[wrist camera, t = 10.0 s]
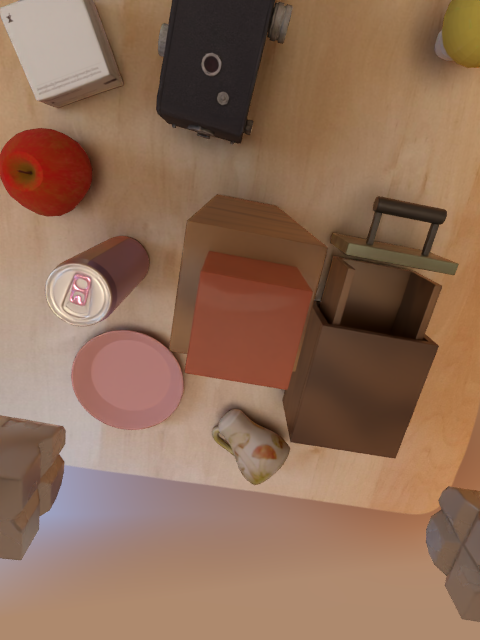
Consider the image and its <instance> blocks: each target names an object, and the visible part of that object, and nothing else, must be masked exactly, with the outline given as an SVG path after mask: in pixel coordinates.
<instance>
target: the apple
mask: <svg viewBox="0 0 480 640" xmlns="http://www.w3.org/2000/svg"><path fill="white" fill-rule="evenodd" d="M0 177H1V180H2V182H3V184H4V186H5V188H6V190H7V192H8V193H9V194H10V196H11V197H13V198H14V199H15V200H16V201H18V202H19V203H20V204H21V205H22V206H24V207H26V208H27V209H29V210H31V211H33V212H35V213H37V214H40V215H44V216H61V215H63V214H65V213H68V212H70V211H71V210H73V209H74V208H75V207H76V206H77V205H78V203H79V202H80V201H81V200H82V199H83V198H84V196H85V195H86V193H87V192H88V190H89V189H90V185H91V182H92V167H91V163H90V160H89V158H88V156H87V154H86V152H85V151H84V150H83V148H82V147H81V146H80V145H79V144H78V142H76V141H75V140H73V139H72V138H70V137H68V136H67V135H65V134H63V133H61V132H58V131H55V130H52V129H43V128H38V129H32V130H26V131H23V132H21V133H18V134H16V135H15V136H14V137H13V138H11V139H10V140H9V141H8V142H7V143H6V144H5V146H4V147H3V149H2V151H1V154H0Z"/></svg>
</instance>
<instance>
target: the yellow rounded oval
mask: <svg viewBox="0 0 480 640" xmlns="http://www.w3.org/2000/svg"><path fill="white" fill-rule="evenodd" d="M435 52H436V54H437V56H438V57H439V58H442V59H444V60H446V61H452V60H454V61H455V62H456V63H457V64H459V65H462V66H465V67H467V68H479V67H480V0H452V1H451V2H450V4H449V6H448V9H447V11H446V14H445V16H444V20H443V28H442V30H441V31H440V32H439V34H438V36H437V39H436V43H435Z"/></svg>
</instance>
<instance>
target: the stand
mask: <svg viewBox="0 0 480 640" xmlns="http://www.w3.org/2000/svg"><path fill="white" fill-rule="evenodd" d="M327 249H328V247H327V246H326V245H324V244H323V243H322V242H321V241H319V240H318V239H317V238H316V237H314V236H313V235H312V234H311V233H309V232H308V231H307V230H306V229H305V228H303V227H302V226H301V225H300V224H298V223H297V222H296V221H295V220H293V219H292V218H291V217H290V216H288V215H287V214H286V213H285V212H284V211H282V210H281V209H280V208H279V207H277V206H275V205H270V204H264V203H259V202H254V201H249V200H244V199H239V198H234V197H229V196H224V195H218V194H217V195H216V196H215V197H213V198H212V199H211V200H210V201H209V202H208V203H207V204H206V205H204V206H203V207H202V208H201V209H200V210H199V211H198V212H196V213H195V214H194V215H193V216H192V217H191V218H190V219H189V220H187V225H186V232H185V239H184V246H183V253H182V260H181V267H180V275H179V282H178V289H177V296H176V303H175V310H174V317H173V324H172V332H171V339H170V346H169V351H173V352H179V353H185V354H187V353H188V347H189V341H190V334H191V328H192V322H193V315H194V309H195V303H196V296H197V290H198V284H199V277H200V272H201V269H202V267H203V264H204V261H205V259H206V256H207V254H208V252H209V251H213V252H218V253H224V254H229V255H235V256H240V257H245V258H251V259H256V260H261V261H267V262H272V263H277V264H283V265H288V266H294V267H297V268H298V269H299V271H300V272H301V274H302V276H303V277H304V279H305V280H306V282H307V283H308V285H309V287H310V288H311V290H312V291H313V294H312V297H311V301H310V305H309V309H308V313H307V317H306V321H305V325H304V328H303V332H302V336H301V340H300V344H299V348H298V352H297V356H296V359H295V363H294V367H293V371H292V372H295V371H296V367H297V364H298V360H299V356H300V352H301V348H302V345H303V341H304V337H305V333H306V329H307V325H308V322H309V318H310V314H311V310H312V306H313V302H314V299H315V295H316V291H317V287H318V283H319V279H320V276H321V272H322V268H323V264H324V260H325V256H326V253H327Z"/></svg>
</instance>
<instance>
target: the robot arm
mask: <svg viewBox="0 0 480 640" xmlns="http://www.w3.org/2000/svg"><path fill="white" fill-rule="evenodd" d="M64 445H65V429H64V427H63V426H59V425H53V424H47V423H42V422H36V421H31V420H25V419H19V418H11V417H7V416H1V415H0V558H3V559H14V560H22V558H23V556H24V554H25V553H26V551H27V549H28V547H29V546H30V544H31V542H32V540H33V539H34V537H35V535H36V533H37V531H38V530H39V516H41V515H43V514H44V513H46V512H48V511H49V510H50V509H51V507H52V505H53V503H54V501H55V499H56V497H57V494H58V492H59V489H60V486H61V483H62V478H63V473H64V461H63V459H62V458H61V456H60V455H59V453H60V451H61V450H62V448H63V447H64ZM438 501H439V504H440V507H441V509H442V510H440V511H439V512H437V513H436V514H434V515H433V516H431V518H430V521H429V524H428V526H427V529H426V543H427V547H428V551H429V554H430V556H431V559H432V561H433V563H434V565H435V566H437V567H438V568H439V569H440V570H441V571H442V572H443V573H444V574H445V575H446V576H447V578H446V583H445V587H446V589H447V591H448V593H449V595H450V596H451V599H452V600H453V602H454V604H455V606H456V608H457V610H458V612H459V614H460V616H461V618H462V619H465V620H471V621H477V622H480V491H476V490H469V489H462V488H456V487H447V488H446V489H445V490H444V491H443V492H442V494H441V496H440V498H439V500H438Z"/></svg>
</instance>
